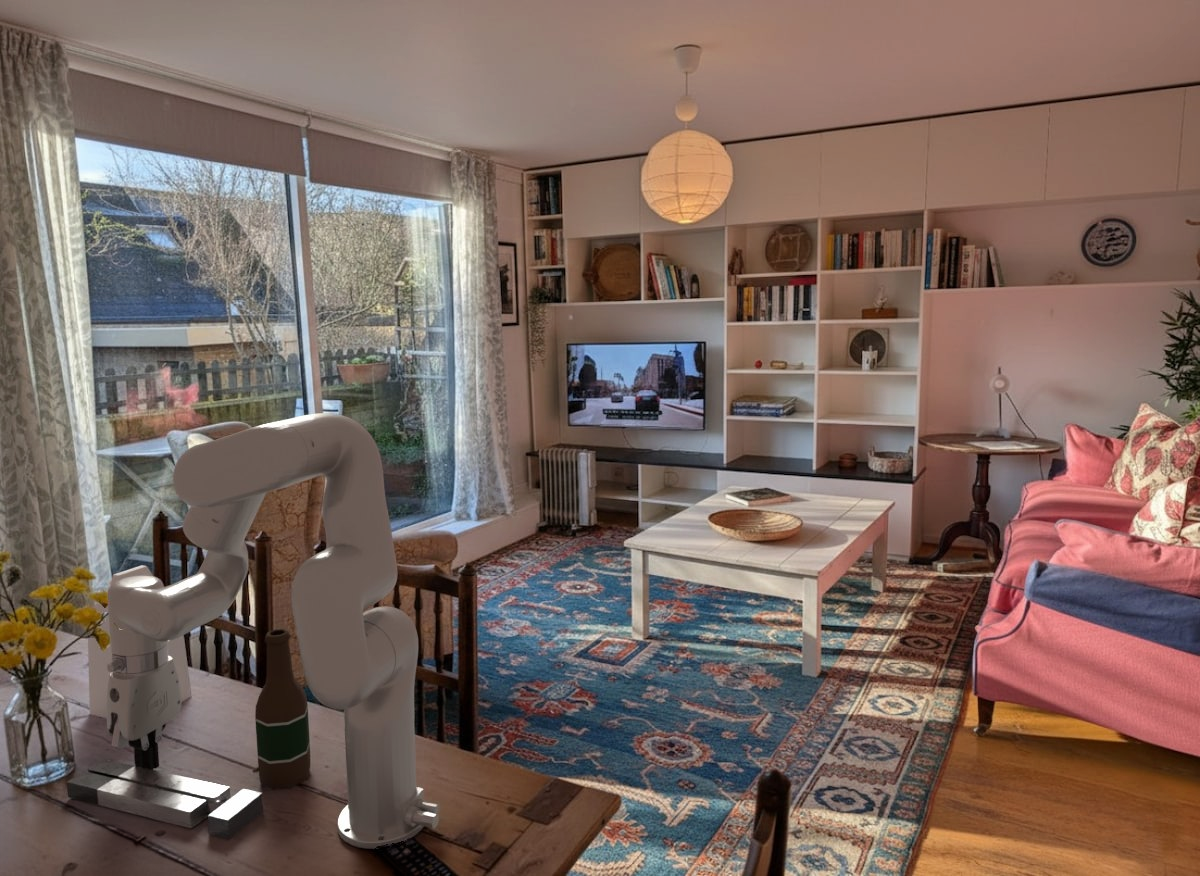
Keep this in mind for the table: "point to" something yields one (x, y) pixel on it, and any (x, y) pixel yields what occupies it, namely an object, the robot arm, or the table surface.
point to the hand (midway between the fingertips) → (147, 767)
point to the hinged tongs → (167, 803)
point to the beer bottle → (282, 719)
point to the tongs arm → (165, 782)
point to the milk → (103, 658)
